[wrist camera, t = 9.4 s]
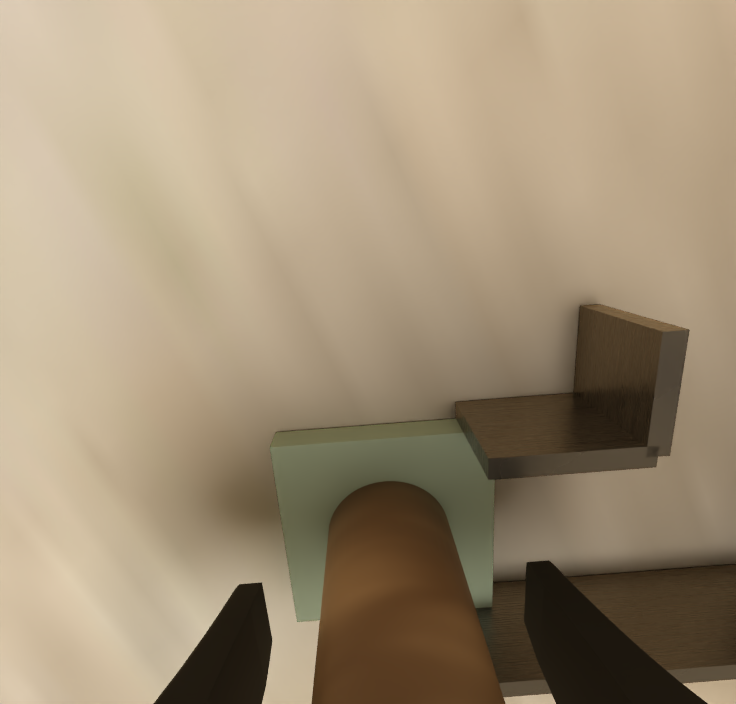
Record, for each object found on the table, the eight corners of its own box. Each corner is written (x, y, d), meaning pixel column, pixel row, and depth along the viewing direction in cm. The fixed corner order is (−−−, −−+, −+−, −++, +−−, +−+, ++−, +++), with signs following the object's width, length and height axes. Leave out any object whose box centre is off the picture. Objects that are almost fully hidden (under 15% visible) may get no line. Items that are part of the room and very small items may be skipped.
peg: (447, 476, 13) (582, 840, 5) (449, 576, 14) (562, 995, 6) (322, 485, 13) (269, 865, 5) (334, 585, 14) (306, 1015, 6)
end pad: (485, 416, 13) (495, 430, 12) (484, 583, 15) (492, 607, 14) (275, 432, 13) (269, 447, 12) (300, 597, 15) (296, 621, 14)
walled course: (844, 285, 12) (1024, 304, 9) (769, 574, 16) (883, 667, 12) (454, 315, 12) (490, 344, 9) (457, 597, 15) (485, 698, 12)
